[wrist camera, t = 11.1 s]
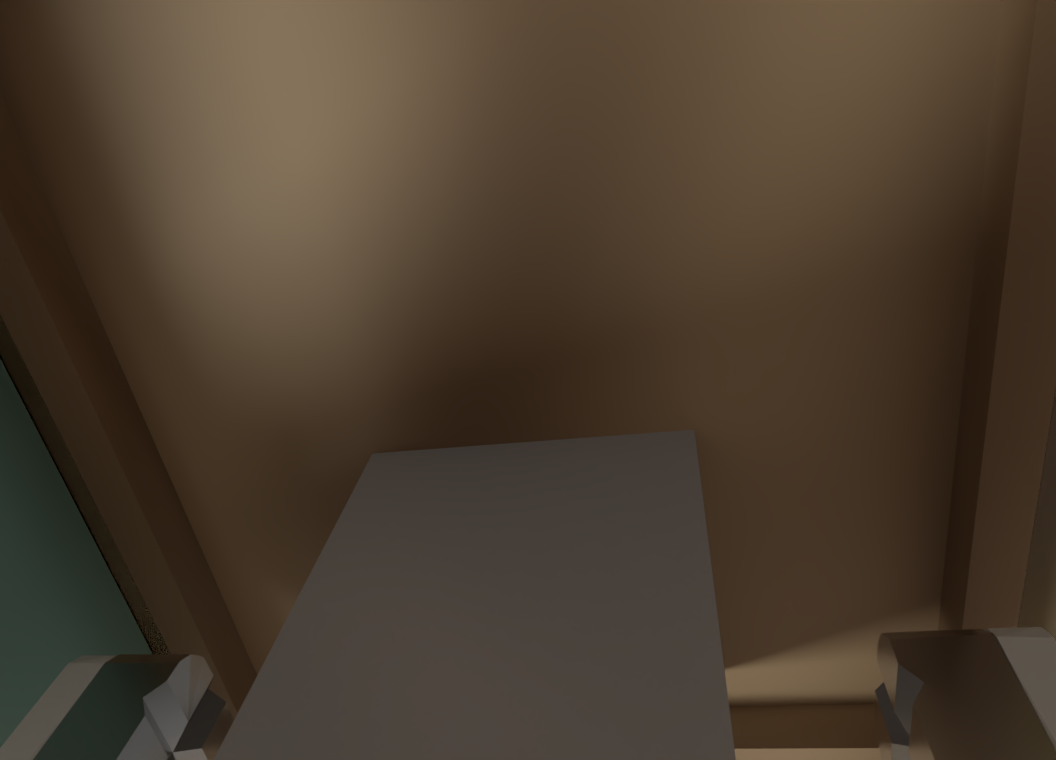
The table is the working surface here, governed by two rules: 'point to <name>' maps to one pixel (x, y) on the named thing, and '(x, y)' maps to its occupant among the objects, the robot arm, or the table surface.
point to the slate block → (504, 613)
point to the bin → (47, 573)
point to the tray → (551, 292)
